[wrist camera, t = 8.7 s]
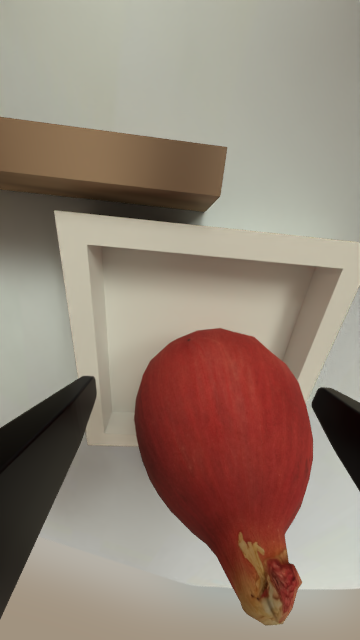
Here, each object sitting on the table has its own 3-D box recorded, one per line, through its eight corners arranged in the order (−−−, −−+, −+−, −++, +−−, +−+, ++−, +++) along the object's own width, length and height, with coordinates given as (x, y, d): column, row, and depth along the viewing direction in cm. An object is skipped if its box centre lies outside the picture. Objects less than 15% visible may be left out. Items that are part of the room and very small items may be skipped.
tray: (331, 244, 9) (378, 244, 7) (267, 418, 14) (284, 450, 12) (83, 218, 8) (53, 210, 6) (101, 412, 13) (87, 445, 11)
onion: (247, 382, 12) (372, 632, 4) (155, 391, 12) (132, 658, 4) (257, 294, 9) (598, 553, 2) (138, 305, 9) (16, 617, 2)
